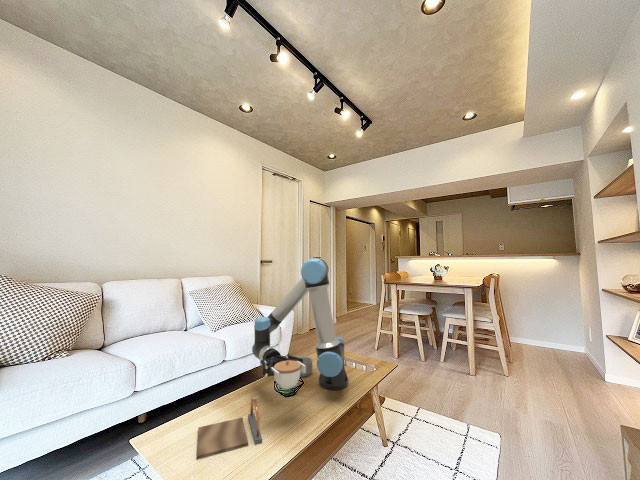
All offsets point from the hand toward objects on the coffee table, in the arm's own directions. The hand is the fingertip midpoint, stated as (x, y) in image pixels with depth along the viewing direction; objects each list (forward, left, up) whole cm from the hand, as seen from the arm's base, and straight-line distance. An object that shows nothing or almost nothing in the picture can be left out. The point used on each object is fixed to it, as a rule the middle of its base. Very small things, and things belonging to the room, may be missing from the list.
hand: (292, 372), depth 103 cm
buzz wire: (+14, -4, -18) cm, 23 cm away
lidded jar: (+1, -4, -6) cm, 8 cm away
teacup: (-20, -44, -20) cm, 52 cm away
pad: (+25, -4, -20) cm, 32 cm away
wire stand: (+14, -4, -20) cm, 24 cm away
